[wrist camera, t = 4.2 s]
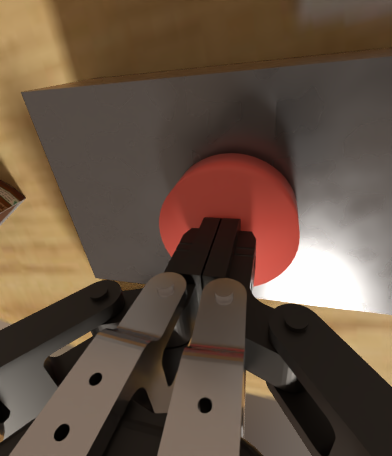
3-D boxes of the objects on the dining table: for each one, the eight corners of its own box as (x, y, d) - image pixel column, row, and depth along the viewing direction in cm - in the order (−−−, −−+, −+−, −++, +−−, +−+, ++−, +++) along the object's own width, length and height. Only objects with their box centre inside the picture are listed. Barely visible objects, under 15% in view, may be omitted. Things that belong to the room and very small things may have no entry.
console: (468, 39, 12) (584, 37, 8) (392, 249, 19) (429, 319, 14) (91, 78, 18) (20, 92, 13) (132, 231, 24) (95, 278, 19)
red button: (299, 122, 15) (308, 170, 9) (290, 217, 18) (292, 295, 12) (193, 127, 16) (147, 170, 11) (202, 213, 20) (169, 280, 14)
